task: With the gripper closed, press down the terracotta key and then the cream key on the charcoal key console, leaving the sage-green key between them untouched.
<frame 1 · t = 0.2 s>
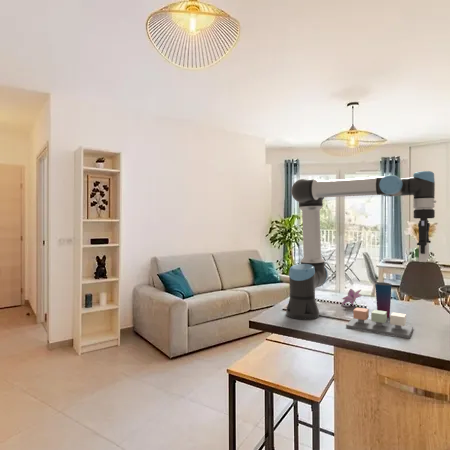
hand: (424, 259, 137), 27 cm above the worktop, fingers open, 13 cm apart
board: (379, 328, 135), on the worktop
sage key: (379, 316, 135), point 5 cm above the worktop, slide at 0.0 cm
cup: (383, 316, 151), on the worktop
cream key: (398, 319, 131), point 5 cm above the worktop, slide at 0.0 cm
terracotta key: (361, 313, 139), point 5 cm above the worktop, slide at 0.0 cm
lily: (352, 306, 168), on the worktop
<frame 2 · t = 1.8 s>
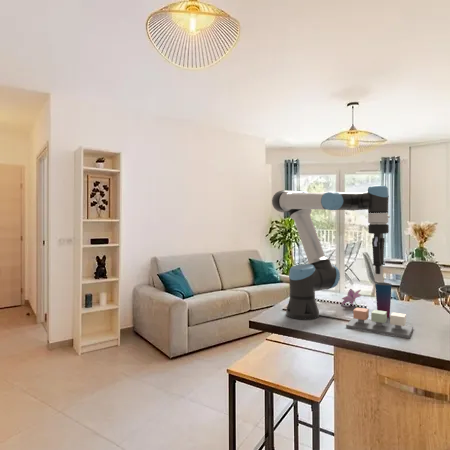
hand: (378, 281, 134), 19 cm above the worktop, fingers closed
nothing on the worktop moved.
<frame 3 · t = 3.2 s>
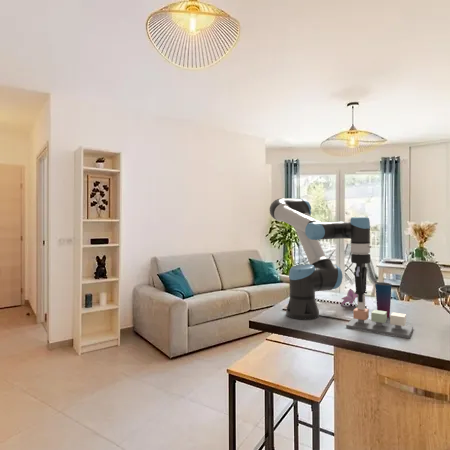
hand: (361, 309, 139), 7 cm above the worktop, fingers closed
terracotta key: (361, 313, 139), point 5 cm above the worktop, slide at 0.0 cm, touching gripper
everything else where it was.
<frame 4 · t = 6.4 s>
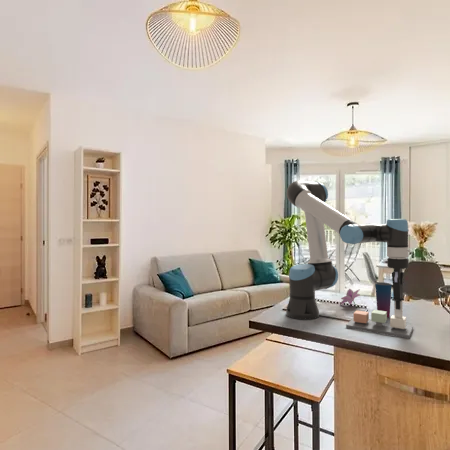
hand: (398, 316, 131), 6 cm above the worktop, fingers closed
cream key: (398, 321, 131), point 4 cm above the worktop, slide at -1.1 cm, touching gripper
terracotta key: (361, 316, 139), point 4 cm above the worktop, slide at -1.3 cm
everything else where it was.
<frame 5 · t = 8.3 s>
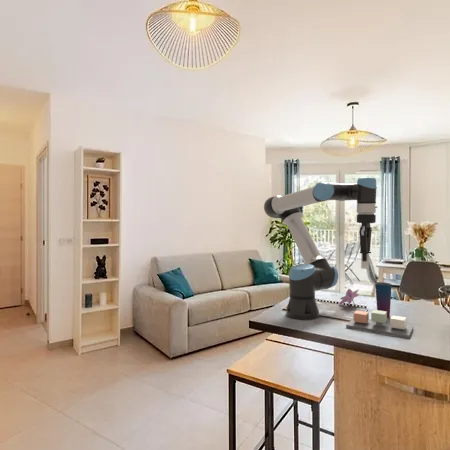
hand: (364, 268, 142), 24 cm above the worktop, fingers closed
cream key: (398, 322, 131), point 4 cm above the worktop, slide at -1.3 cm
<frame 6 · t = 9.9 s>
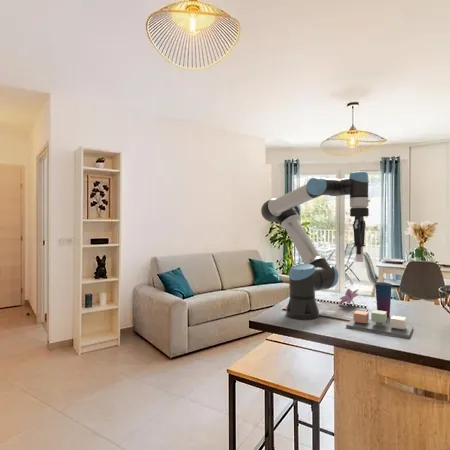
hand: (359, 261, 143), 26 cm above the worktop, fingers closed
at the end: terracotta key slide at -1.3 cm; cream key slide at -1.3 cm; sage key slide at 0.0 cm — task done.
